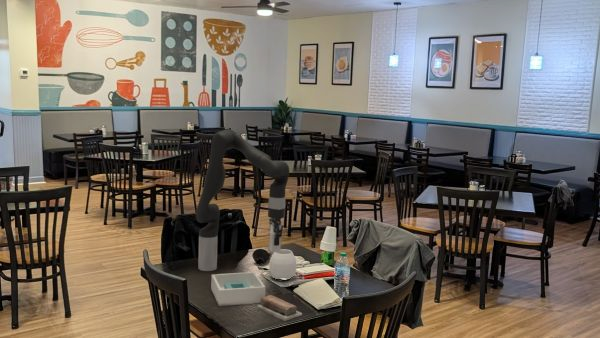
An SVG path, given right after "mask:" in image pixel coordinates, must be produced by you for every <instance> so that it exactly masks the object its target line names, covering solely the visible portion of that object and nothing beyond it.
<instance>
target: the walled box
mask: <svg viewBox="0 0 600 338" xmlns="http://www.w3.org/2000/svg"><path fill="white" fill-rule="evenodd" d="M210 276H211V281H210V282H211V287H210V290H211V292H212V294H213V296H214V299H215V302H216V304H217V305H218V307H226V306H237V305H238V306H239V305H251V304H260V299H261V298H262V297H265V296H266V290H267V289H266V285H264V283H263V282H262V280H261V279H260V277H259V276H258V275H257V273H256V272H255V271H249V272H247V271H246V272H233V273H217V274H211V275H210Z"/></svg>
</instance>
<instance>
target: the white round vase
mask: <svg viewBox="0 0 600 338" xmlns="http://www.w3.org/2000/svg"><path fill="white" fill-rule="evenodd" d="M268 270H269V274H270V276H271V277H272V278H273V279H274V278H275V279H274V280H276V279H280V278H290V277H293V276H295V274H296V272H297V259H296V256H295V255H294V253H293V251H292V250H290V249H284V248H282V249H280V252H272V254H271V256H270V259H269V269H268ZM293 278H294V277H293Z"/></svg>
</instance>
